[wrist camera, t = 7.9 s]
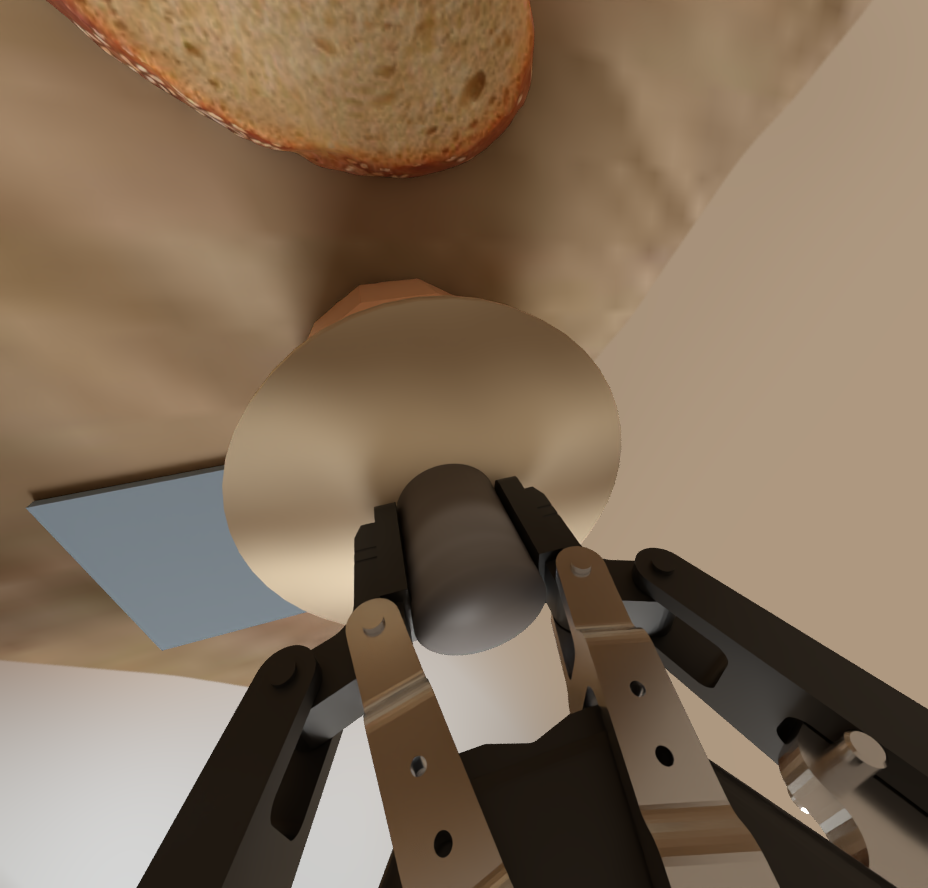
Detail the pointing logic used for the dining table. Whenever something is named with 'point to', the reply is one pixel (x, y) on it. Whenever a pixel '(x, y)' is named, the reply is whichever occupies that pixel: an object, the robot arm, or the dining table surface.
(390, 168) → the bread slice
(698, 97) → the dining table surface
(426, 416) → the lid
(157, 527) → the mat
